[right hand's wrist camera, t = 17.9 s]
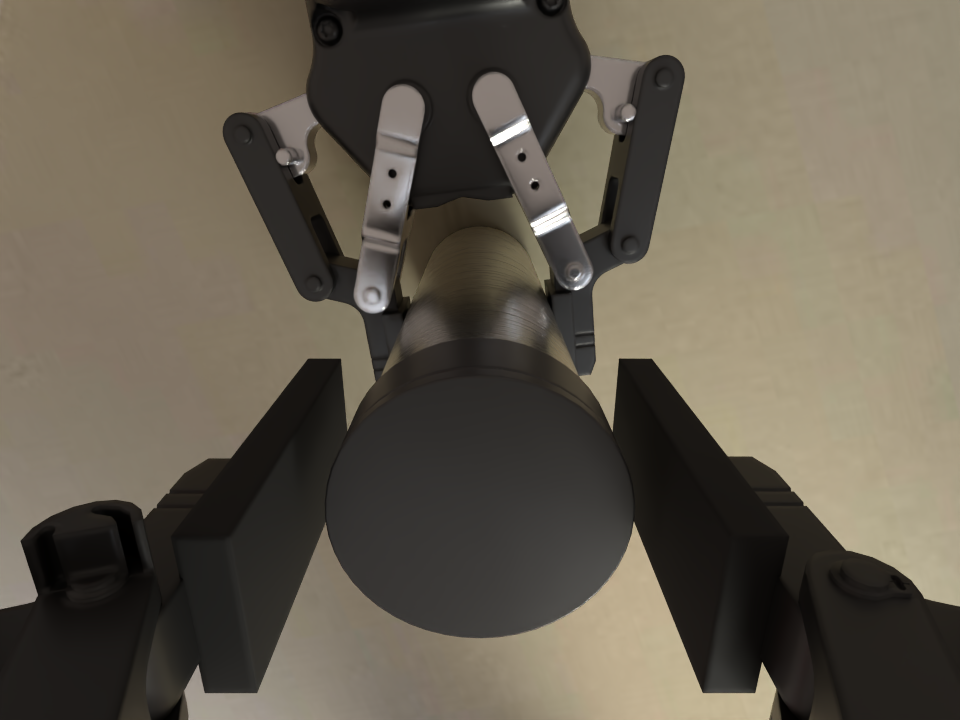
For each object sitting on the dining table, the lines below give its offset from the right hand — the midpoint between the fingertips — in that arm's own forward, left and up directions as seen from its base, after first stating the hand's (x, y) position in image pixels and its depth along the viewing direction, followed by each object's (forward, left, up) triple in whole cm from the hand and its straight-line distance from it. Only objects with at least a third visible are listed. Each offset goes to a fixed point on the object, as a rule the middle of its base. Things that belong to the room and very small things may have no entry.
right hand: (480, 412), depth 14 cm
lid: (0, 0, +4) cm, 4 cm away
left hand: (-1, +2, -7) cm, 8 cm away
